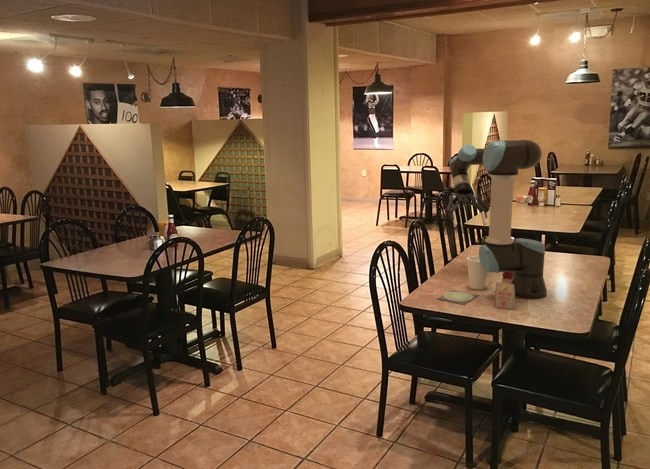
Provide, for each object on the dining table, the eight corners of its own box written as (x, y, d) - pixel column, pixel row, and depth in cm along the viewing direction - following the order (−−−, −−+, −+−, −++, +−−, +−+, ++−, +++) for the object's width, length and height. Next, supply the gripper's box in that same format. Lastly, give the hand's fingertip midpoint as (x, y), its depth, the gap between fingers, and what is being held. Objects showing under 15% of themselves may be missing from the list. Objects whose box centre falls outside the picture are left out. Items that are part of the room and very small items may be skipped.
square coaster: (478, 296, 240) (479, 294, 240) (463, 304, 229) (463, 303, 229) (453, 291, 247) (453, 289, 247) (437, 299, 237) (437, 297, 237)
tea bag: (497, 304, 229) (498, 280, 227) (514, 307, 225) (515, 283, 223) (494, 307, 226) (495, 283, 224) (511, 310, 222) (512, 285, 220)
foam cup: (464, 289, 249) (465, 260, 247) (467, 283, 258) (468, 255, 255) (486, 291, 246) (487, 262, 243) (489, 285, 254) (490, 257, 252)
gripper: (485, 190, 273) (494, 228, 262) (434, 191, 271) (441, 230, 261) (490, 181, 266) (499, 219, 256) (437, 182, 265) (445, 221, 254)
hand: (470, 225), depth 258 cm, fingers open, 13 cm apart
